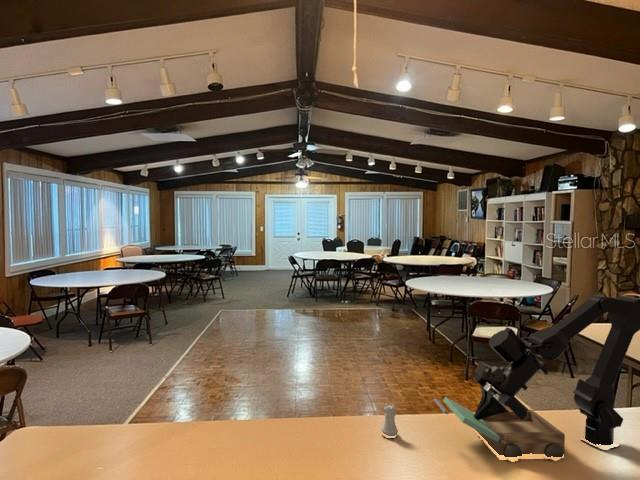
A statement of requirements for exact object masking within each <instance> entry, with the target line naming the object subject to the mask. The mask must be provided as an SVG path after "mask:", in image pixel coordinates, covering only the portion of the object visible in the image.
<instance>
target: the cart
mask: <svg viewBox="0 0 640 480" xmlns="http://www.w3.org/2000/svg"><path fill="white" fill-rule="evenodd" d="M507 410H508V411H509V412H508V413H507V412H504V413H500V414H496V415H493V416H490V417H486V418H483V419H482V420H483V421H484V422H485V423H486V424H487V425H488V426H489V427H490V428H491V429H492V430H493V431H494V432H495V433H496V434H497V435H498V436H499V437H500V439H499V441H498V442H497V441H495V440H493V439H491V438H490V437H488V436H486V435H484V434H482V433H481V432H479V431H477V430H476V431H477V432H478V433H479V434H480V435H481V436H482V437H483V438H484V439H485V440H486V441H487V442H488V444H489V445H490V446H491V447H492V448H493V449H494V450H495V451H496V452H497V453H498V454H499V455H504V456H505V457H517V456H522V454H530V453H532V454H545V455H546V456H547V457H551V456H553V457H562V456H563V454H564V455H565V451H566V450H565V446H566V445H565V441H566V437H565V436H566V435H565V433H564V432H562V430H560V429H559V428H557V427H556V426H554V425H553V424H552V423H551V422H549V421H548V420H546V419H545V418H544V417H542V416H541V415H540V414H538V413H537V412H535V410H533V409H528V416H527V417H526V418H525V419H524V420H523V421H522V420H521V419H520V418H518V417H517V416H516V415H515V413H514V412H513V411H512V410H511V409H507Z"/></svg>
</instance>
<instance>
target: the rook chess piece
mask: <svg viewBox="0 0 640 480" xmlns="http://www.w3.org/2000/svg"><path fill="white" fill-rule="evenodd" d="M383 410H384V411H385V413H384V416H385V417H384V424H383V425H382V427H381V432H383V433H384V434H386V435H388V436H395V435H397V433H398V432H399V430H398V428H397V425H396V421H395V419H396V418H395V417H396V414H395V413H396V411H397V408H396V406H395V404H393V403H386V404H384V408H383Z"/></svg>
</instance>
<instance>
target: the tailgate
mask: <svg viewBox="0 0 640 480" xmlns="http://www.w3.org/2000/svg"><path fill="white" fill-rule="evenodd" d="M433 401H434V403H436V406H438V407H439V409H440V410H441V411H442V412H443V413H444V414H446V415H449V411H448V410H447V409H446V407H445V406H444V405H443V403H441V401H439V399H438V398H436V397H434V398H433ZM442 401H443V402H444V404H445V405H446V406H447V407H448V408H449V409H450V410H451V412H452V413H454V415H455V416H456V417H457V418H458V419H459V421H460V422H461V423H463V424H465V425H467V426H468V427H470V428H471V429H473V430H474V429H475V430H477V431H479V432H481V433H482V434H484V435H486V436H488V437H490V438H491V439H493V440H495V441H497V442H498V441H499V439H500V437H499V436H498V435H497V434H496V433H495V432H494V431H493V430H492V429H491V428H490V427H489V426H488V425H487V424H486V423H485V422H484V421H483V420H482V419H480V420H477V419H476V418H475V417H474V414H475V412H473V411H471V410H470V409H468V408H466V407H464V406H463V405H461V404H459V403H457V402H455V401H454V400H452V399H450V398H448V397H446V396H444V398H443V399H442Z"/></svg>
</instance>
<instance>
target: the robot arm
mask: <svg viewBox="0 0 640 480" xmlns="http://www.w3.org/2000/svg"><path fill="white" fill-rule="evenodd" d="M606 313H609V318H610V324H611V327H610V329H609V332H608V334H607V336H606V339H605V341H604V344H603V346H602V348H601V351H600V354H599V356H598V359H597V360H596V363H595V366H594V369H593V370H592V373H591V375H590V377H588V378H587V379H585V380H583V379H581V378H580V379H578V381H577V383H576V387H575V389H574V390H573V391H572V393H573V394H574V395H573V401H574V403H575V405H576V407H578V409H579V413H580V414H583V415H584V416H586V418H585V427H584V436H585V439H586V440H588V441H589V442H591V443H593V444H595V445H596V444H598V445H599V444H601V445H611V444H613V442H614V439H615V438H614V433H615V432H614V431H615V429H616V428H620V427H622V424H623V422H624V417H622V416H621V414H619V413H618V412H617V411H616V410H615V408H614V406H615V401H616V397H615V392H614V391H615V390H614V384H615V381H616V380H617V377H618V375H619V371H620V369H621V367H622V365H623V362H624V360H625V357H626V355H627V353H628V349H630V348H629V347H630V345H631V343H632V340H633V338H634V336H635V334H637V333H638V332H639V331H640V297H634V296H628V295H619V296H617V297H609V296H605V295H602V294H601V295H599V294H593V295H590V296H589V297H588V298H587V300H586V301H585V302H583V303H582V304H580V305H579V306H578V307H577V308H575V309H574V310H573V311H571V312H570V313H568V315H566V316H565V317H563V318H562V319H561V320H560V321H558V322H557V323H555V324H553V325H551V326H548V327H545V328H544V327H543V328H541V329H539V330H537V331H535V332H533V333H532V334H530V335H529V336H527V337H519V336H518V335H517V333H516V332H515V331H514V330H513V329H512V328H511V327H506V328H504V330H503V329H502V330H500V331H498V332H496V333H494V334H493V335H491V337H490V338H489V340H488V346H489V347H490V348H491V349H493V351H494V352H495V353H497V354H498V356H499V357H500V358H501V359H502V360H503V361H505V362H507V363H508V362H509V364H508V365H507V366H506V367H505V366H504V365H502V366H500V367H498V366H496V365H494V366H491V365H489V364H488V363H485V362H482V361H479V362H478V364H477V367H476V369H475V371H474V373H475V374H474V375H473V376H472V378H473V379H474V380H475V382H477V383H478V384H479V385H480V390H481V391H480V392H481V399H480V400H479V404H478V405H477V408H476V410H475V412H474V413H475V414H474V417H475V418H476V419H477V420H480V419H483V418H486V417H490V416H493V415H496V414H500V413H504V412H507V413H508V412H509V411H508V410H512V411H513V412H514V413H515V415H516V416H517V417H518V418H520V419H521V420H522V421H523V420H524V419H525V418H526V417H527V416H528V410H529V409H528V408H527V407H526V406H525V405H524V404H523V403H522V401H520V400H519V399H517V397H515V396H517V395H518V393H519V392H520V391H521V390H522V389H523V390H524V391H526V390H528V389H529V388H528V386H527V384H529V382H530V381H531V379H533V377H535V376H536V375H537V373H538V372H541V373H542V374H544V375H546V376H547V375H548V374H549V372H548V371H549V370H548V363H547V362H545V361H543V360H541V361H540V360H539V358H537V357H540V358H542V359H544V360H546V361H551V362H553V361H555V360H557V359H558V358H559V357H560V356H561V355H563V353H564V352H565V351H566V350H567V348H568V346H569V343H570V341H571V340H572V339H573V338H574V337H577V335H579V334H580V333H581V332H582V331H583V330H585V329H586V328H588V327H589V326H590V325H592V324H593V323H594V322H596V321H597V320H598V319H599V318H601V317H602V316H604V315H605V314H606ZM526 351H528V352H529V353H527V352H526ZM536 356H537V357H536Z"/></svg>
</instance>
